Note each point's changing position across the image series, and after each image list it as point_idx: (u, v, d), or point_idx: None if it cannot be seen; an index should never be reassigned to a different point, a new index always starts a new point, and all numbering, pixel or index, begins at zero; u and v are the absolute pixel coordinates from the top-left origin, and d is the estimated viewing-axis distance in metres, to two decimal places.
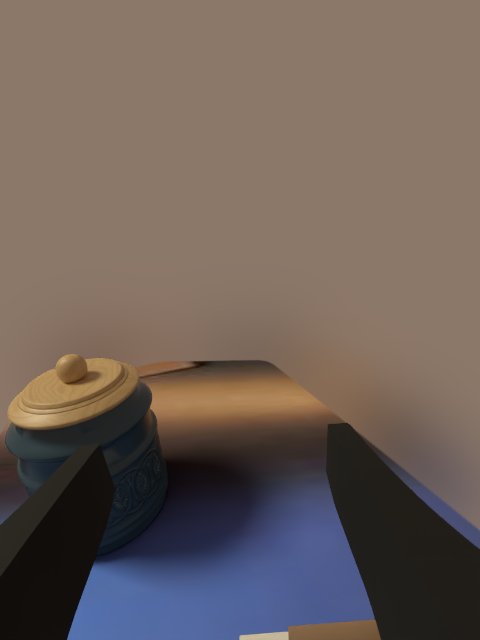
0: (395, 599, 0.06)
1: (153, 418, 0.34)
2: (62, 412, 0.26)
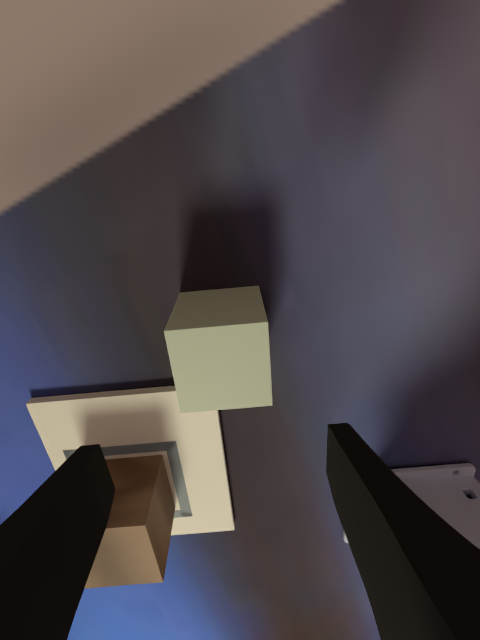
0: (395, 599, 0.06)
1: None
2: None
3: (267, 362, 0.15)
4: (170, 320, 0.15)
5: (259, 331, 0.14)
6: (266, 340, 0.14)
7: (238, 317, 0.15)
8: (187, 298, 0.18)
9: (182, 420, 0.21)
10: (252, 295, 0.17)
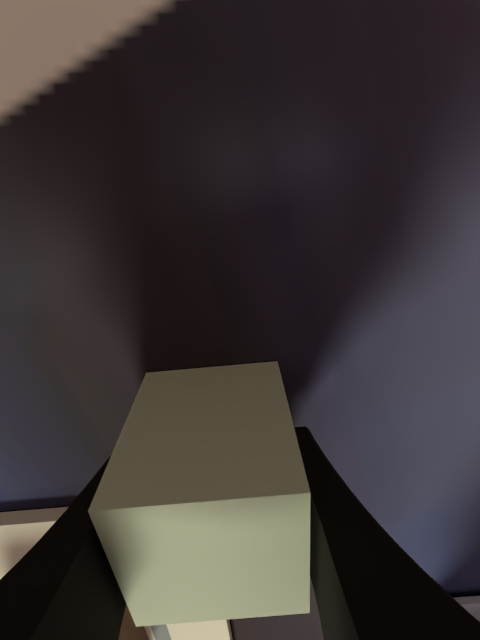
0: (329, 604, 0.06)
1: None
2: None
3: (304, 555, 0.07)
4: (110, 467, 0.08)
5: (290, 509, 0.07)
6: (305, 521, 0.07)
7: (247, 466, 0.07)
8: (155, 392, 0.10)
9: None
10: (268, 390, 0.10)
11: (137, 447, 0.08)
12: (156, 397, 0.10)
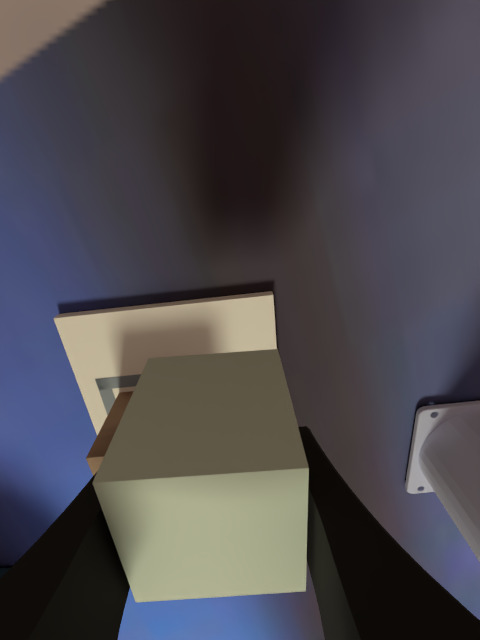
0: (330, 604, 0.06)
1: None
2: None
3: (301, 531, 0.08)
4: (114, 443, 0.08)
5: (289, 484, 0.07)
6: (303, 497, 0.07)
7: (247, 444, 0.07)
8: (157, 375, 0.10)
9: (234, 338, 0.19)
10: (269, 375, 0.10)
11: (140, 426, 0.08)
12: (158, 380, 0.10)
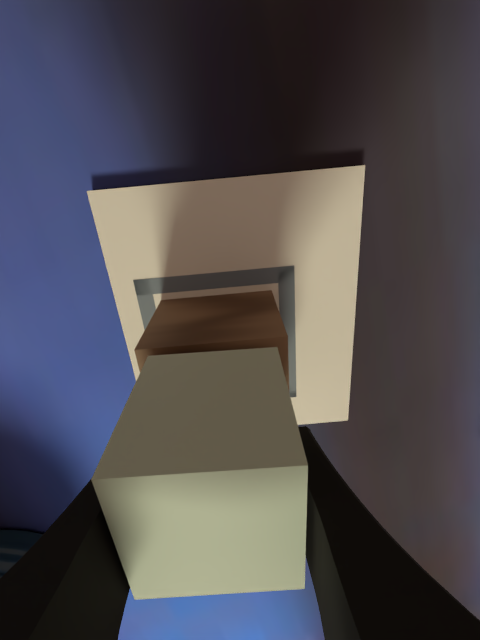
0: (330, 604, 0.06)
1: None
2: None
3: (300, 528, 0.08)
4: (113, 440, 0.08)
5: (289, 482, 0.07)
6: (302, 495, 0.07)
7: (246, 441, 0.07)
8: (157, 373, 0.10)
9: (309, 227, 0.15)
10: (268, 373, 0.10)
11: (139, 423, 0.08)
12: (158, 378, 0.10)
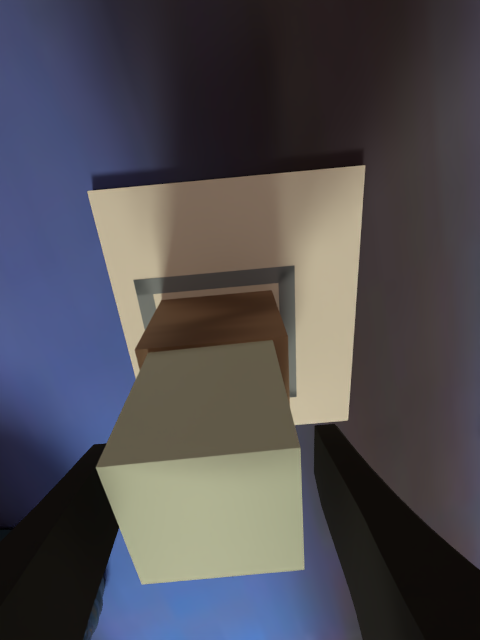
0: (374, 601, 0.06)
1: None
2: None
3: (296, 510, 0.08)
4: (115, 431, 0.08)
5: (283, 464, 0.07)
6: (296, 477, 0.07)
7: (242, 428, 0.08)
8: (156, 368, 0.11)
9: (309, 227, 0.15)
10: (263, 365, 0.10)
11: (140, 415, 0.09)
12: (158, 373, 0.10)
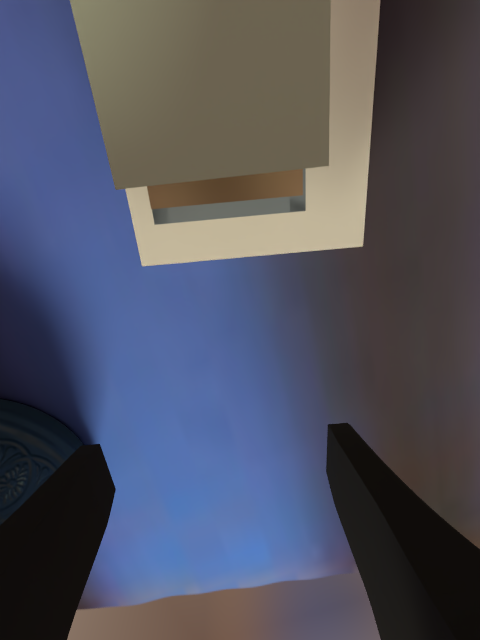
0: (395, 599, 0.06)
1: None
2: None
3: (322, 13, 0.06)
4: None
5: None
6: None
7: None
8: None
9: None
10: None
11: None
12: None
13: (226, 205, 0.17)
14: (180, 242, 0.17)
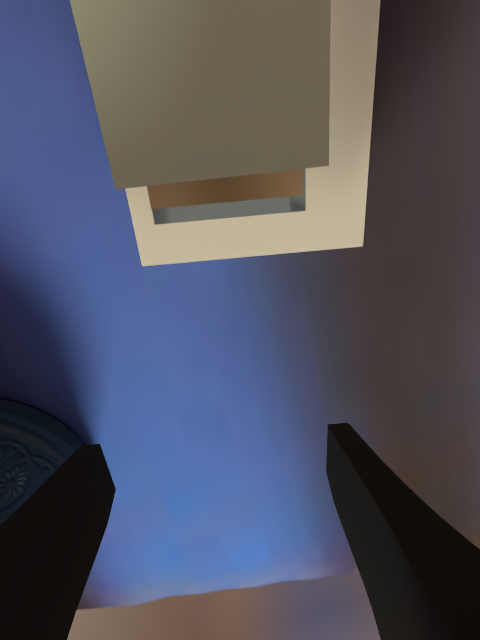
0: (395, 599, 0.06)
1: None
2: None
3: (322, 13, 0.06)
4: None
5: None
6: None
7: None
8: None
9: None
10: None
11: None
12: None
13: (226, 205, 0.17)
14: (180, 242, 0.17)
